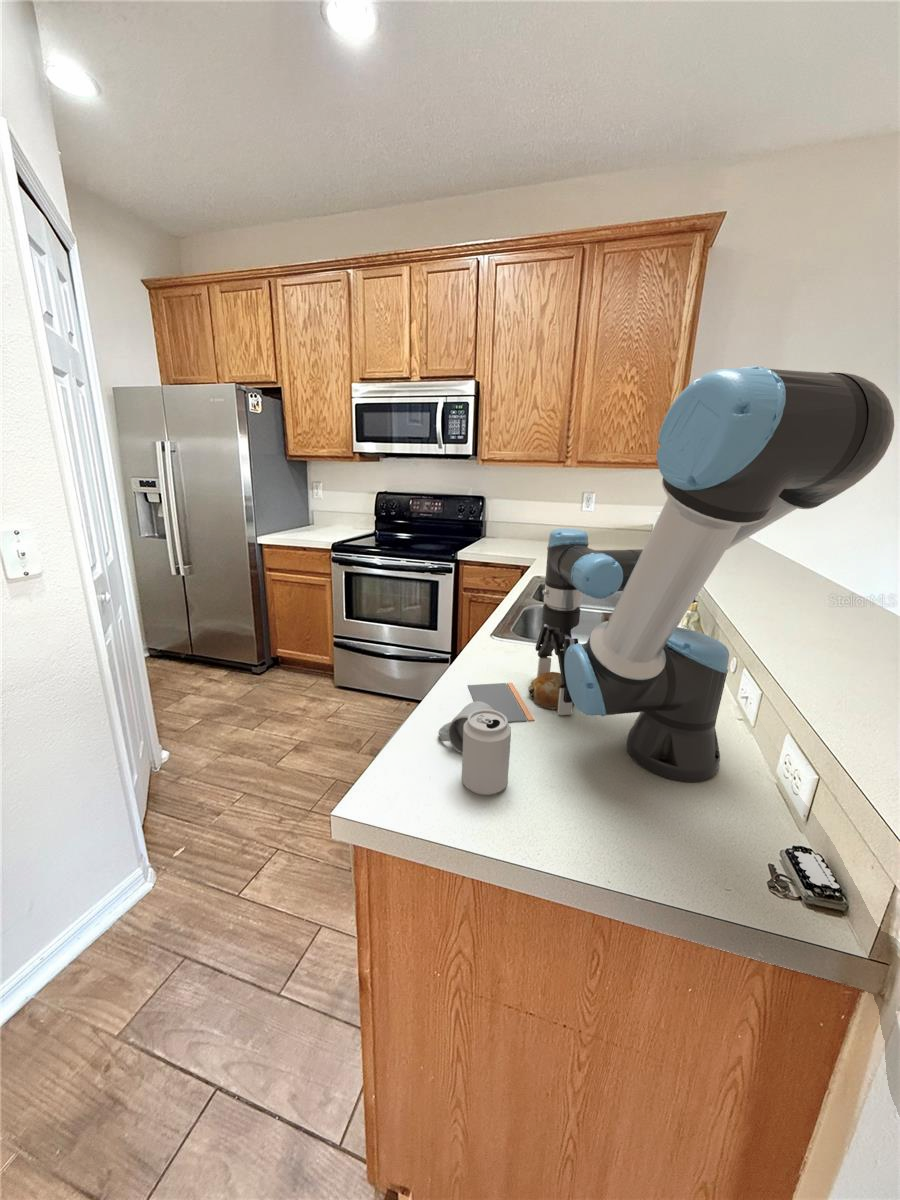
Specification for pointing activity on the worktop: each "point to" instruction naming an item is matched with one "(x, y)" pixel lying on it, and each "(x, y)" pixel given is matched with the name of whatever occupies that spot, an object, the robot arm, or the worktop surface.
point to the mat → (502, 700)
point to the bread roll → (546, 690)
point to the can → (486, 752)
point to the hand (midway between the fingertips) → (552, 698)
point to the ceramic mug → (460, 725)
